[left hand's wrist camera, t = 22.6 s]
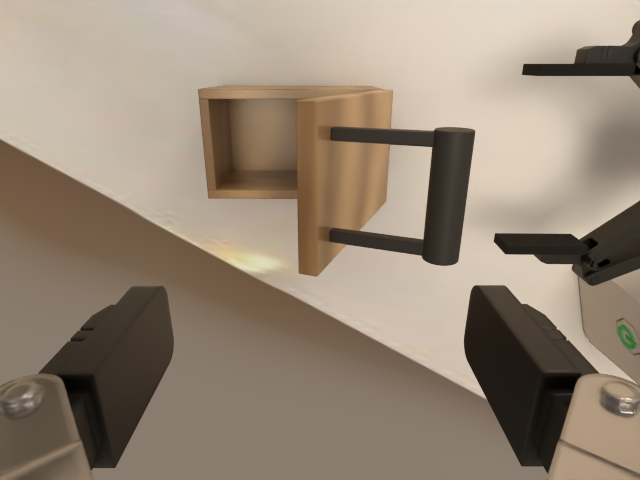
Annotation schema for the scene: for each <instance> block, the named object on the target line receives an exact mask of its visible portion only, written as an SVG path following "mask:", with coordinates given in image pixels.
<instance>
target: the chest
mask: <svg viewBox="0 0 640 480" xmlns="http://www.w3.org/2000/svg"><path fill="white" fill-rule="evenodd" d="M374 90H384V89H380V88H376V87H372V86H218V87H211V88H203V89H198V93H199V104H200V114H201V125H202V136H203V146H204V157H205V167H206V178H207V188H208V198H235V199H298V194H297V134H296V101H297V100H304V99H311V98H319V97H327V96H335V95H343V94H351V93H359V92H366V91H374Z"/></svg>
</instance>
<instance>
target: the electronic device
mask: <svg viewBox="0 0 640 480" xmlns="http://www.w3.org/2000/svg"><path fill="white" fill-rule="evenodd" d="M579 287H580V297H581V307H582V317H583V327H584V331H585V333H586V335H587V337H588V339H589V341H590V343H591V344H592V345H593V346H595V347H596V348H597V349H598V350H599V351H600V352H602V353H603V354H604V355H605V356H606V357H607V358H608V359H610V360H611V361H612V362H613V363H614V364H615V365H616V366H618V367H619V368H620V369H621V370H622V371H623V372H625V373H626V374H627V375H628V376H629V377H630V378H631V379H633V380H634V381H635V382H636V383H637V384H638V385H640V269H638V270H635V271H633V272H630V273H627V274H625V275H622V276H619V277H617V278H614V279H611V280H609V281H606V282H604V283H601V284H598V285H595V286H590V285H588V284H587V283H586V282H585V281H584V280H582V279H581V278H580V277H579Z"/></svg>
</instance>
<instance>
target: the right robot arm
mask: <svg viewBox="0 0 640 480" xmlns="http://www.w3.org/2000/svg"><path fill="white" fill-rule="evenodd" d="M632 34H633V35H632V36H631V38H630V40H629V41H628V42H627V43H626V44H624V45H622V46H587V47H583V48H580V49H578V50H577V53H576V58H575V63H574V64H524V66H523V72H522V75H533V76H630V78H631V79H632V80H633V81H634V82H635V83H636V85H637V86H638V87H639V88H640V20H639V21H637V22H636V23H635V24H634V26H633V28H632ZM494 242H495V243H496V244H497V245H498V247H499V248H500V249H501V250H502V251H503V252H504V253H505V254H534V255H535V256H536V257H537V258H538V259H539V260H540V261H541V262H543V263H546V264H573V266H572V270H573V272H574V273H575V274H577V275H578V276H579V277H580V278H581V279H582V280H584V281H585V282H586V283H587V284H588V285H590V286H595V285H598V284H601V283H604V282H606V281H609V280H611V279H614V278H617V277H619V276H622V275H625V274H627V273H630V272H633V271H635V270H638V269H640V201H639V202H637V203H636V204H634V205H633V206H631V207H629V208H628V209H626V210H625V211H623V212H622V213H620V214H618V215H617V216H615V217H614V218H612V219H611V220H609V221H608V222H606V223H604V224H603V225H601V226H600V227H598V228H597V229H595V230H594V231H592V232H590V233H589V234H587V235H586V236H584V237H583V238H581V239H577V238H576V237H574V236H573V235H571V234H498V233H495V237H494Z"/></svg>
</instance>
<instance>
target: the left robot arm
mask: <svg viewBox="0 0 640 480" xmlns="http://www.w3.org/2000/svg"><path fill="white" fill-rule="evenodd" d="M173 347H174V338H173V331H172V324H171V317H170V310H169V303H168V297H167V292H166V290H165V288H164V287H163V286H133V287H131V288H130V289H129V290H128V291H127V293H126V294H125V295H124V296H123V297H122V298H121V299H120V300H119V302H118V303H117V304H116V305H110V306H108V307H106V308H105V309H103V310H101V311H100V312H98V313H96V314H94V315H93V316H92V317H91V318H90V319H89V320H88V321H87V322H86V323H85V324H84V325H83V326H82V327H81V330H80V331H77V333H76V334H75V335H74V336H73V337H72V338H71V341H70V342H67V343H66V344H65V345H64V346H63V347H62V349H61V350H60V351H59V352H58V353H57V354H56V355H55V356H54V357H53V358H52V359H51V360H50V361H49V362H48V363H47V364H46V366H45V367H44V368H43V369H42V370H41V371H40V372H39V373H38V374H33V375H28V376H24V377H20V378H17V379H15V380H12V381H9V382H7V383H5V384H3V385H1V386H0V480H93V476H92V473H91V470H92V469H93V468H115V467H116V465H117V463H118V461H119V459H120V457H121V456H122V454H123V452H124V450H125V448H126V446H127V444H128V442H129V440H130V438H131V436H132V434H133V432H134V431H135V429H136V427H137V425H138V423H139V421H140V419H141V417H142V415H143V413H144V411H145V409H146V407H147V406H148V404H149V402H150V400H151V398H152V396H153V394H154V392H155V390H156V388H157V386H158V384H159V382H160V380H161V379H162V377H163V375H164V373H165V371H166V369H167V367H168V365H169V363H170V361H171V358H172V354H173ZM464 348H465V354H466V358H467V361H468V363H469V365H470V367H471V369H472V371H473V373H474V375H475V377H476V378H477V380H478V382H479V384H480V386H481V388H482V390H483V392H484V394H485V396H486V398H487V400H488V402H489V404H490V406H491V408H492V410H493V412H494V413H495V415H496V417H497V419H498V421H499V423H500V425H501V427H502V429H503V431H504V433H505V435H506V437H507V439H508V441H509V443H510V445H511V447H512V448H513V451H514V452H515V454H516V456H517V458H518V460H519V462H520V464H521V466H544V468H545V470H546V471H547V473H548V476H547V480H640V386H639V385H637V384H635V383H633V382H631V381H628V380H625V379H623V378H620V377H616V376H612V375H607V374H599V372H598V371H597V370H596V369H595V368H594V367H593V366H592V365H591V364H590V363H589V362H588V361H587V360H586V359H585V357H584V356H583V355H582V354H581V353H580V352H579V351H578V350H577V349H576V348H575V347H574V346H573V345H572V343H571V342H570V341H567V340H566V337H565V336H564V335H563V334H562V333H561V332H560V331H559V330H557V329H556V326H555V325H554V324H553V323H552V322H551V321H550V320H549V319H548V318H547V317H546V316H545V315H544V314H543V313H541V312H539V311H537V310H536V309H534V308H532V307H531V306H529V305H527V304H521V303H520V302H519V301H518V299H517V298H516V297H515V296H514V295H513V294H512V293H511V291H510V290H509V289H508V288H507V287H506V286H503V285H476V286H474V287H473V288H472V290H471V294H470V301H469V308H468V314H467V321H466V328H465V335H464Z"/></svg>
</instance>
